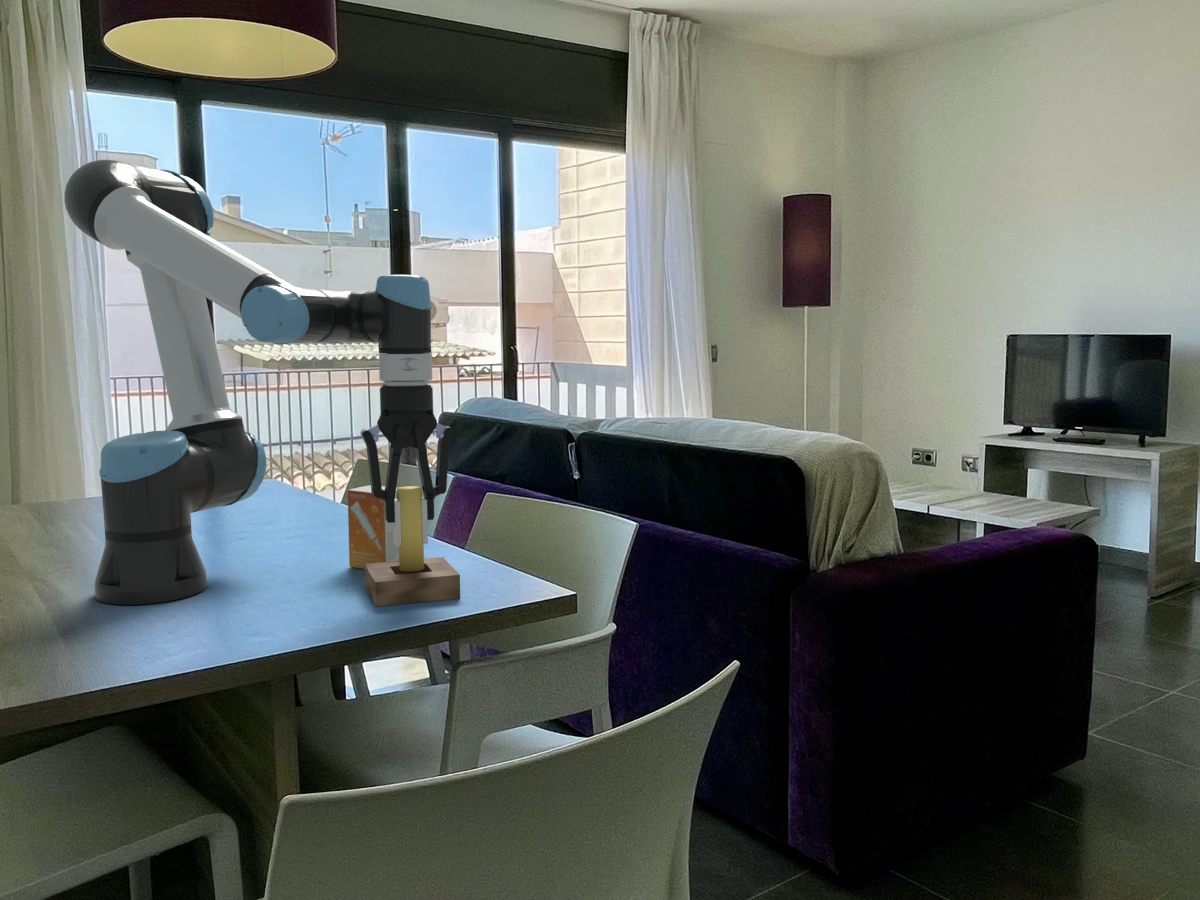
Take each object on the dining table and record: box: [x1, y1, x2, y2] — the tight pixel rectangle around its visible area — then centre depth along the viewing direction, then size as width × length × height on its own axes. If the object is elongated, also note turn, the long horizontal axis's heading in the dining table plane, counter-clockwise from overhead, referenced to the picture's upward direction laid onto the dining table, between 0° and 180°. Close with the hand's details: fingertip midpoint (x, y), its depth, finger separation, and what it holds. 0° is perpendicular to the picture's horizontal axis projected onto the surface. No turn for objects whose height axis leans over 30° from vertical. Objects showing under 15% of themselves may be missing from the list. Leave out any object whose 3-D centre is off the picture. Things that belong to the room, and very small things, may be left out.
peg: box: [397, 485, 425, 571], centre depth 143 cm, size 4×4×12 cm
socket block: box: [364, 556, 461, 607], centre depth 144 cm, size 12×12×4 cm
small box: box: [347, 484, 399, 570], centre depth 159 cm, size 8×6×13 cm
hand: (410, 542), depth 143 cm, fingers closed on peg, 3 cm apart
